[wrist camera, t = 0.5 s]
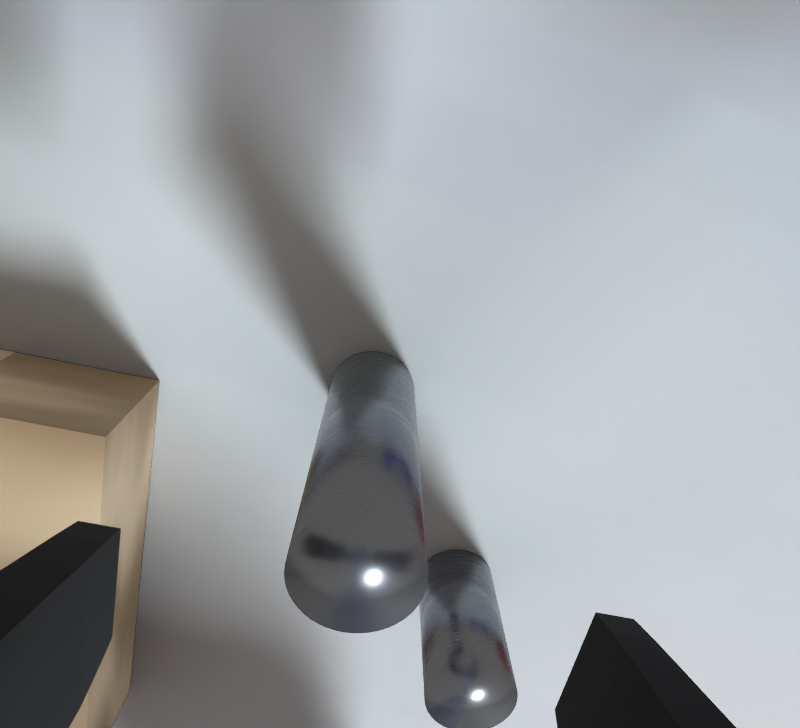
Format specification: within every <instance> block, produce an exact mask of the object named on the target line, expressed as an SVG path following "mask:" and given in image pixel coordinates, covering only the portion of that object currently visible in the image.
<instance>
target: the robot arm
mask: <svg viewBox="0 0 800 728" xmlns="http://www.w3.org/2000/svg"><path fill="white" fill-rule="evenodd" d="M120 534H121V528H116V527H110V526H105V525H99V524H93V523H88V522H82V521H77V522H75V523H74V524H72V525H70V526H69V527H67V528H66V529H64V530H62V531H61V532H59V533H57V534H56V535H54V536H53V537H51V538H50V539H48V540H46V541H45V542H43V543H42V544H40V545H39V546H37V547H35V548H34V549H32V550H31V551H29V552H28V553H26V554H25V555H23V556H22V557H20V558H18V559H17V560H15V561H14V562H12V563H11V564H9V565H8V566H6V567H4V568H3V569H1V570H0V728H69V727H70V725H71V723H72V721H73V720H74V718H75V716H76V714H77V713H78V711H79V709H80V707H81V705H82V703H83V701H84V699H85V697H86V694H87V692H88V690H89V688H90V686H91V684H92V682H93V680H94V677H95V675H96V673H97V671H98V668H99V666H100V664H101V662H102V660H103V657H104V655H105V653H106V651H107V648H108V646H109V644H110V642H111V639H112V635H113V622H114V609H115V597H116V584H117V572H118V559H119V547H120ZM555 713H556V720H557V727H558V728H736V727H735V726H734V725H733V724H732V723H731V722H730V721H729V720H728V718H727V717H726V716H725V715H724V714H723V713H722V712H721V711H720V710H719V709H718V708H717V707H716V706H715V705H714V703H713V702H712V701H711V700H710V699H709V698H708V697H707V696H706V695H705V694H704V693H703V692H702V691H701V689H700V688H699V687H698V686H697V685H696V684H695V683H694V682H693V681H692V680H691V679H690V678H689V677H688V675H687V674H686V673H685V672H684V671H683V670H682V669H681V668H680V667H679V666H678V665H677V664H676V662H675V661H674V660H673V659H672V658H671V657H670V656H669V655H668V654H667V653H666V652H665V651H664V650H663V649H662V648H661V646H660V645H659V644H658V643H657V642H656V641H655V640H654V639H653V638H652V637H651V636H650V635H649V634H648V633H647V632H646V631H645V630H644V629H643V628H642V627H641V626H640V625H639V624H638V623H637V622H636V621H635V620H634V619H630V618H624V617H618V616H613V615H607V614H601V613H595V616H594V618H593V620H592V623H591V625H590V627H589V630H588V632H587V635H586V637H585V639H584V642H583V644H582V647H581V649H580V651H579V654H578V656H577V658H576V661H575V663H574V666H573V668H572V670H571V673H570V675H569V677H568V680H567V682H566V685H565V687H564V689H563V692H562V694H561V697H560V699H559V701H558V704H557V706H556V708H555Z"/></svg>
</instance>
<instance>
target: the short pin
mask: <svg viewBox="0 0 800 728" xmlns="http://www.w3.org/2000/svg"><path fill="white" fill-rule="evenodd" d="M427 564H428V583H427V588H426V591H425V594H424V596H423V598H422V600H421V602H420V603H419V604H420V623H421V641H422V659H423V678H424V696H425V705H426V708H427V710H428V712H429V714H430V715H431V717H432V718H433V719H434V720H435V721H437V722H438V723H439V724H441V725H443V726H445V727H447V728H491V727H494V726H496V725H498V724H499V723H501V722H502V721H504V720H505V719H506V718H507V717H508V716H509V715H510V714H511V712H512V711H513V710H514V707H515V705H516V702H517V688H516V684H515V679H514V675H513V670H512V666H511V661H510V657H509V652H508V648H507V643H506V639H505V634H504V629H503V625H502V620H501V616H500V611H499V607H498V602H497V598H496V593H495V589H494V584H493V580H492V575H491V571H490V568H489V566H488V565H487V563H486V562H485V561H484V560H483V559H482V558H481V557H479V556H478V555H476V554H474V553H472V552H469V551H465V550H448V551H444V552H441V553H438V554H436V555H434V556H433V557H431V558H430V559H429V560H428V561H427Z"/></svg>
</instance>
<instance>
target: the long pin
mask: <svg viewBox="0 0 800 728" xmlns="http://www.w3.org/2000/svg"><path fill="white" fill-rule="evenodd" d="M284 576H285V583H286V588H287V590H288V593H289V595H290V597H291V599H292V600H293V602H294V603H295V605H296V606H297V607H298V608H299V609H300V610H301V611H302V612H303V613H304V614H305V615H306V616H307V617H309V618H310V619H311V620H313V621H315V622H316V623H318V624H320V625H322V626H324V627H327V628H330V629H333V630H337V631H341V632H348V633H367V632H374V631H379V630H382V629H385V628H388V627H390V626H393V625H395V624H397V623H398V622H400V621H402V620H403V619H405V618H406V617H407V616H408V615H410V614H411V613H412V612H413V611H414V610H415V608H416V607H417V606H418V605H419V603H420V602H421V600H422V598H423V596H424V594H425V591H426V588H427V583H428V564H427V551H426V538H425V525H424V511H423V498H422V485H421V472H420V459H419V446H418V433H417V420H416V407H415V394H414V384H413V380H412V377H411V375H410V373H409V371H408V369H407V368H406V367H405V366H404V365H403V364H402V363H401V362H400V361H399V360H398V359H396V358H394V357H393V356H391V355H388V354H385V353H382V352H374V351H369V352H362V353H358V354H356V355H353V356H351V357H350V358H348V359H347V360H345V361H344V362H343V363H342V364H341V365H340V366H339V367H338V369H337V370H336V372H335V374H334V376H333V379H332V382H331V386H330V390H329V394H328V398H327V402H326V406H325V410H324V414H323V418H322V422H321V425H320V429H319V433H318V437H317V441H316V445H315V449H314V453H313V457H312V461H311V465H310V469H309V472H308V476H307V480H306V484H305V488H304V492H303V496H302V500H301V504H300V508H299V512H298V516H297V520H296V523H295V527H294V531H293V535H292V539H291V543H290V547H289V551H288V555H287V559H286V563H285V570H284Z"/></svg>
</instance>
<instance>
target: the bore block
mask: <svg viewBox="0 0 800 728" xmlns="http://www.w3.org/2000/svg"><path fill="white" fill-rule="evenodd" d="M158 389H159V381H158V380H153V379H148V378H143V377H138V376H133V375H128V374H123V373H118V372H113V371H108V370H103V369H98V368H92V367H87V366H82V365H77V364H72V363H67V362H62V361H57V360H52V359H47V358H42V357H37V356H32V355H27V354H22V353H17V352H12V351H7V350H2V349H0V570H1V569H3V568H4V567H6V566H8V565H9V564H11V563H12V562H14V561H15V560H17V559H18V558H20V557H22V556H23V555H25V554H26V553H28V552H29V551H31V550H32V549H34V548H35V547H37V546H39V545H40V544H42V543H43V542H45V541H46V540H48V539H50V538H51V537H53V536H54V535H56V534H57V533H59V532H61V531H62V530H64V529H66V528H67V527H69V526H70V525H72V524H74V523H75V522H77V521H82V522H88V523H93V524H99V525H105V526H110V527H116V528H121V534H120V547H119V559H118V572H117V584H116V597H115V609H114V622H113V635H112V639H111V642H110V644H109V646H108V648H107V651H106V653H105V655H104V657H103V660H102V662H101V664H100V666H99V668H98V671H97V673H96V675H95V677H94V680H93V682H92V684H91V686H90V688H89V690H88V692H87V694H86V697H85V699H84V701H83V703H82V705H81V707H80V709H79V711H78V713H77V714H76V716H75V718H74V720H73V721H72V723H71V725H70V727H69V728H112V726H113V724H114V722H115V720H116V718H117V716H118V714H119V712H120V709H121V707H122V705H123V703H124V701H125V699H126V697H127V695H128V693H129V691H130V680H131V670H132V660H133V649H134V639H135V628H136V618H137V608H138V597H139V587H140V576H141V566H142V556H143V545H144V535H145V524H146V514H147V504H148V493H149V483H150V472H151V462H152V452H153V441H154V431H155V420H156V410H157V400H158Z"/></svg>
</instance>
